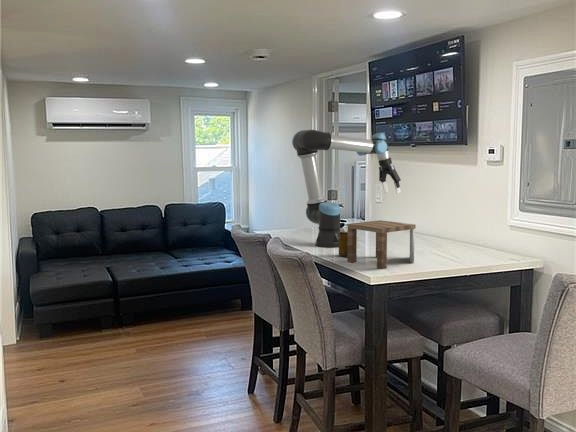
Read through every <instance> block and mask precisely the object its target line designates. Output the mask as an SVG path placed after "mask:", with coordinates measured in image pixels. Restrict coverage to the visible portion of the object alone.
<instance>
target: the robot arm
mask: <svg viewBox="0 0 576 432" xmlns="http://www.w3.org/2000/svg"><path fill="white" fill-rule="evenodd" d="M291 140H292V141H291V143H292V146H293V147H292V148H294V150H295V151H296V154H297V155H296V156H297V157H298V158H299V159H300V161H301V167H302V171H303V178H304V182H305V187H306V192H307V198H308V200H307V202H306V208H305V215H306V218H307V219H308V220H309V221H310V222H311V223H313V224H316V225H317V224H318V233H317V237H316V240H315V246H317V247H320V248H321V247H322V248H339V237H340V236H339V235H340V232H341V207H340V205H339V204H338V203H336V202H328V201H327V198H326V197H325V196H324V194H323V188H322V187H323V186H322V183H321V177H320V171H319V165H318V162H317V154H318V153H319V151H329V150H336V151H337V150H339V151H346V152H347V151H348V152H356V154H357V155H358V156H359V157H362V156H365V155H376V157H377V161H378V165H379V167H378V171H379V172H378V174H379V176H378V177H379V179H378V181H379V182H381V185H382V188H383V192H384V193H385V194H386V193H389V191H390V190H389V186H388V182H387V176H388V175H389V176H390V178H391V179H392V180H393V184H394V188H395V191H396V194H397V195H398V194H400V193H402V190H401V186H400V181H401V178H400V176H399V174H398V172H397V170H396V167H395V165H391V164H392V158H391V154H390V151H389V146H388V142H387V137H386V134H385V133H384V132H378V133H374V134H373V135H372V136H371V139H369V138H360V137H358V138H357V137H351V136H350V137H349V136H341V135H335V134H331V132H327V131H321V130H315V129H303V130H299V131H297V132H296V133H295V134H294V135H293V136H292V139H291Z"/></svg>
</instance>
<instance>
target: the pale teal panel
mask: <svg viewBox="0 0 576 432" xmlns="http://www.w3.org/2000/svg"><path fill="white" fill-rule="evenodd" d="M415 231H416V229H411V230H409V263H415Z"/></svg>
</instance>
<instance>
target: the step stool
mask: <svg viewBox="0 0 576 432" xmlns="http://www.w3.org/2000/svg"><path fill="white" fill-rule="evenodd" d="M416 226H417V225H416V224H415V223H405V222H399V221H398V222H397V221H389V220H383V219H380V220H371V221H370V220H369V221H362V222H361V221H359V222H353V223H347V232H348V239H347V257H346V259H347V262H348V263H357V249H358V248H357V247H358V246H357V232H358V231H364V232H365V231H366V232H372V233H375V258H376V269H379V270H385V269H387V262H388V260H387V259H388V254H387V253H388V233H393V232H401V231H410V230H411V229H414V230H416V229H417V227H416ZM357 230H358V231H357Z"/></svg>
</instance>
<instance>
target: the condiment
mask: <svg viewBox="0 0 576 432" xmlns="http://www.w3.org/2000/svg"><path fill="white" fill-rule="evenodd" d="M339 236H340V237H339V247H338V255H337V254H336V255H334V256H335V257H340V258H347V239H348V231H340V235H339Z"/></svg>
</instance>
